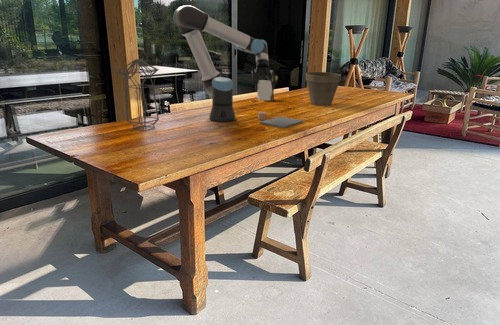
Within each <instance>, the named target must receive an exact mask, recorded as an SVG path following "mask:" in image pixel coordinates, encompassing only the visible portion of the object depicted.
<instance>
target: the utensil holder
mask: <svg viewBox="0 0 500 325" xmlns="http://www.w3.org/2000/svg"><path fill="white" fill-rule="evenodd" d="M275 79H276V83H277V82H278V81H279V76H278V75H276V74H275ZM272 81H273V80H272ZM273 87H274V89H273V90H272V96H270V100H262V101H264V102H275V94H274V91H275V86H274V85H273Z"/></svg>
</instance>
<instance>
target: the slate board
mask: <svg viewBox="0 0 500 325" xmlns="http://www.w3.org/2000/svg"><path fill="white" fill-rule="evenodd" d="M301 123H304V120H302V119H298V118H290V117H286V116H277V117H273V118H269V119H266V120H260V121H259V124H261V125H266V126H271V127H277V128H282V129H285V128H288V127H291V126H292V127H293V126H295V125H298V124H301Z"/></svg>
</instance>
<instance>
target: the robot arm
mask: <svg viewBox="0 0 500 325" xmlns="http://www.w3.org/2000/svg"><path fill="white" fill-rule="evenodd" d="M173 21H174V22H173V23H174V24H175V26H176V27H177V28H178V30H179V32H180V34H181V36H183V37H185V39H186V42H187V44H188V45H189V49H190V51H191V53H192V55H193V57H194V59H195V60H194V61H195V62H196V65H197V67H198V69H199V71H200V73H201V75H202V77H201V79H200V80H201V81H202V84H203V90H204V92H205V93H206V94H207V95H208V96H209V97H211V103H212V104H211V106H212V107H211V110H210V113H209V116H208V117H209V120H210V121H212V122H217V123H228V122H229V123H230V122H234V121H236V113H235V110H234V107H233V102H234V101H233V100H234V98H233V96H234V94H233V93H234V92H233V91H234V85H233V84H234V82H233V80H232V79H231V78H228V77H224V76H222V75H221V73H220V71H218V70H216V68H215V65H214V63H213V60H212V58H211V55H210V53H209V50H208V48H207V46H206V44H205V41H204V39H203V38H204V37H203V36H202V32H203V33H204V32H205V33H208V34H210V35H212V36H215V37H217V38H219V39H221V40H223V41H225V42H227V43H231V44H233V45H234V46H236V49H237V50H239V51H241V52H245V53H249V54H252V55H254V56H255V66H256V67H255V69H254V68H252V69H251V74H252V76H251V77H252V79H251V86H254V88H255V91H257V92H256V93H257V96H258V95H259V93H260V92H259V83H258V80H261V77H265V78H266V79H267V80H269V81H271V96H272V90H273V89H274V90H275V86H276V85H277V82H276V79H275V76H276V74H275V72H276V70H275V69H270V63H269V53H268V52H269V50H268V49H269V48H268V43H267V41H266V40H264V39H259V38H254V37H253V36H250V35H249V34H246V33H244V32H242V31H239V30H238V29H235V28H233V27H231V26H228V25H227V24H224V23H223V22H221V21H218V20H216V19H214V18H212V17H210V15H209V14H208V13H206V12H204V11H202V10H200V9H199V8H197V7H196V6H192V5H182V6H179V7H177V8H176V9H175V11H174V13H173ZM256 73H257V74H258V75H257V76H256ZM270 75H271V76H270ZM255 77H256V78H255ZM255 79H256V80H255ZM272 80H273V81H272ZM273 85H274V87H273Z"/></svg>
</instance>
